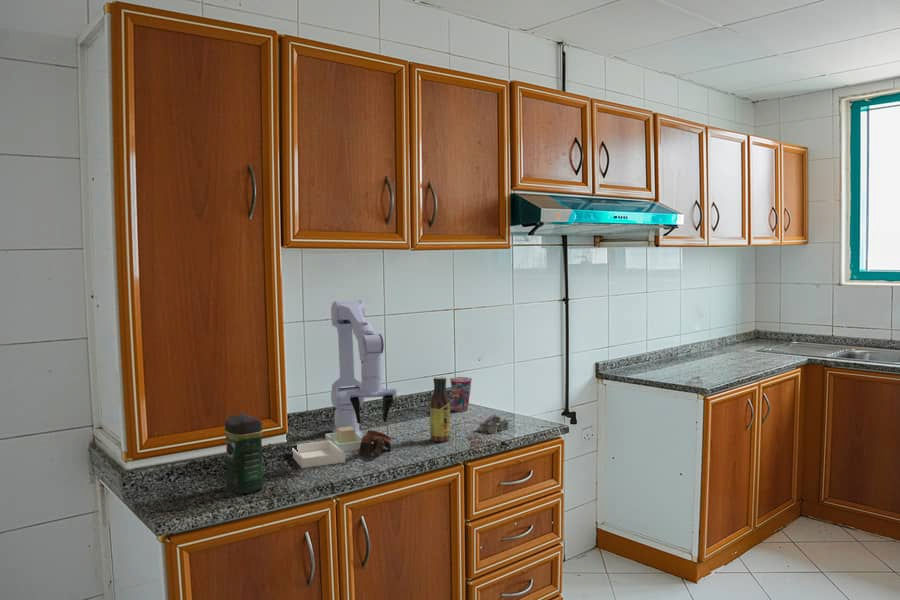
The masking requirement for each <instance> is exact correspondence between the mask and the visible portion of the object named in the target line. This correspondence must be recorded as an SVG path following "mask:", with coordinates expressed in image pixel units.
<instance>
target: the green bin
mask: <svg viewBox="0 0 900 600" xmlns="http://www.w3.org/2000/svg"><path fill="white" fill-rule="evenodd" d="M324 436H325V438H324V439H325V440H324V441H329V440H330V441H331V442H333V443H334V444H335V445H336V446H337V447H338V448H339V449H341V450H342V451H343V452H344V453H347V452H352V451H358V449H359V448H360V445H361V439H362V437H363V436H362V434H360V435H359V434H358V433H357V432H355V442H349V443H341V444H339V443H338V442H337V432H336V433H334V432H329V433H325V435H324Z"/></svg>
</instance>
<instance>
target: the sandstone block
mask: <svg viewBox="0 0 900 600" xmlns="http://www.w3.org/2000/svg"><path fill="white" fill-rule="evenodd" d="M337 442H338V443H339V444H341V443H349V442H355V429H354V428H352V427H351V426H350V427H341V428H337Z"/></svg>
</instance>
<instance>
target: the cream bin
mask: <svg viewBox="0 0 900 600" xmlns="http://www.w3.org/2000/svg"><path fill="white" fill-rule="evenodd" d="M296 445H297V450H298V452H297V451H296V450H295V449H294V448H292V452H293V457H292V458H293V459H294V461H295V462H296V463H297V464H298V465H299V467H301V469H307V468H311V467H319V466H325V465H326V466H327V465H332V464H333V465H335V464H341V463H346V452H343V451H342V450H341V449H339V448H338V447H337V446H336V445H335V444H334V443H333V442H331V441H330V440H329V441H325V440H324V441H323V440H322V441H315V442H308V443H307V442H306V443H298V444H296Z"/></svg>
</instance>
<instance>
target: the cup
mask: <svg viewBox="0 0 900 600" xmlns="http://www.w3.org/2000/svg"><path fill="white" fill-rule="evenodd" d="M472 380H473V379H472V378H471V377H465V376H458V377H451V378H449V381H450V387H451V388H450V389H451V395H452V402H453V403H452V404H453V408H454V409H453V410H454V412H458V413H461V412H463V413H465V412H467V411H468V410H469V406H470V405H469V404H470V395H471V386H472Z"/></svg>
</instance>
